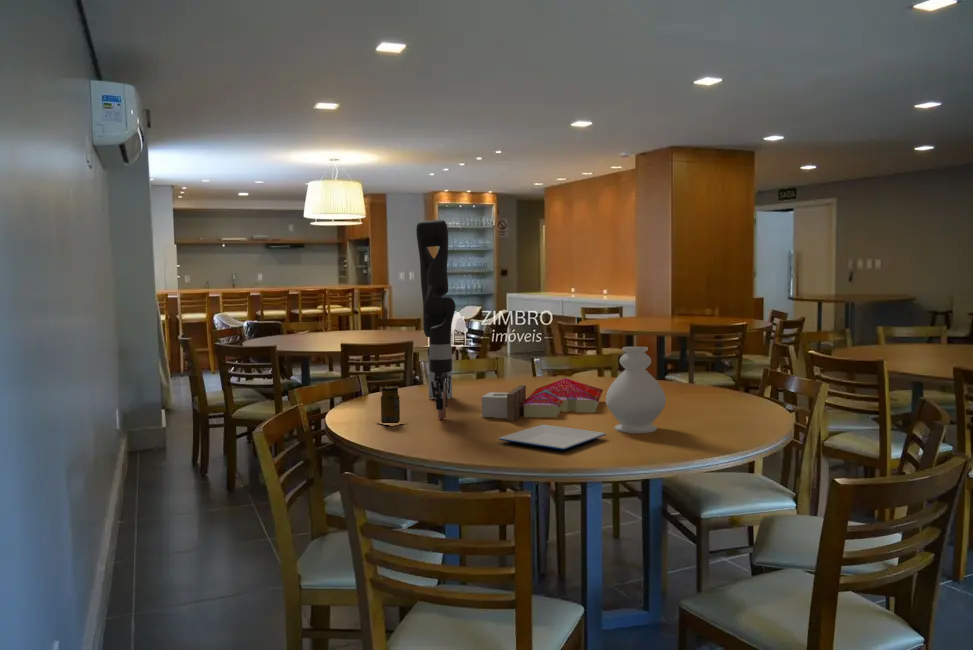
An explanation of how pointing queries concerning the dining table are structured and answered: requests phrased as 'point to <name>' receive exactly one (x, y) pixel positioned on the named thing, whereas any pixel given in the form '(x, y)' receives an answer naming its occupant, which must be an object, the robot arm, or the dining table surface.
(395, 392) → the condiment
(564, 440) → the plate
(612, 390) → the decorative vase
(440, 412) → the dowel
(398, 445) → the dining table surface
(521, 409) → the wall
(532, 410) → the house model
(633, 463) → the dining table surface
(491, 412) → the block
